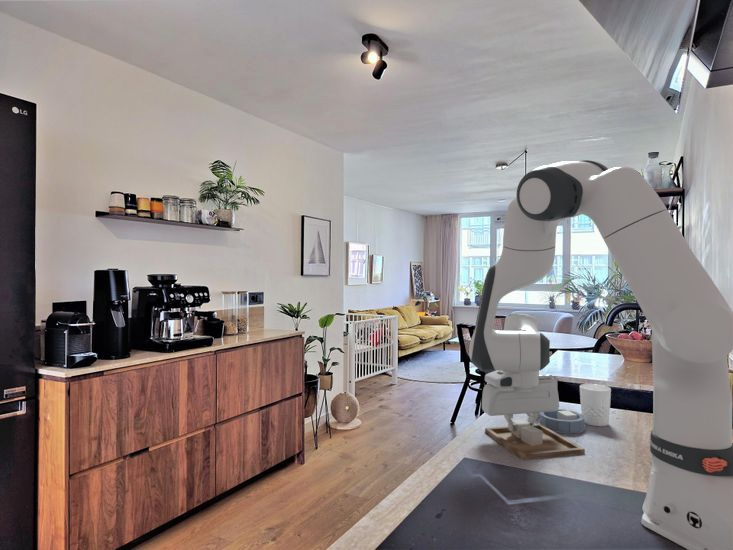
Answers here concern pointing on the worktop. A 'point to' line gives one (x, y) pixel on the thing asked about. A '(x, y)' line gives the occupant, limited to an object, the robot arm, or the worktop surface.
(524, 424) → the cream small block
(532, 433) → the cream white small block
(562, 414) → the white small block
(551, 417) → the bowl
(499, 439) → the tray
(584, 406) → the white cup
